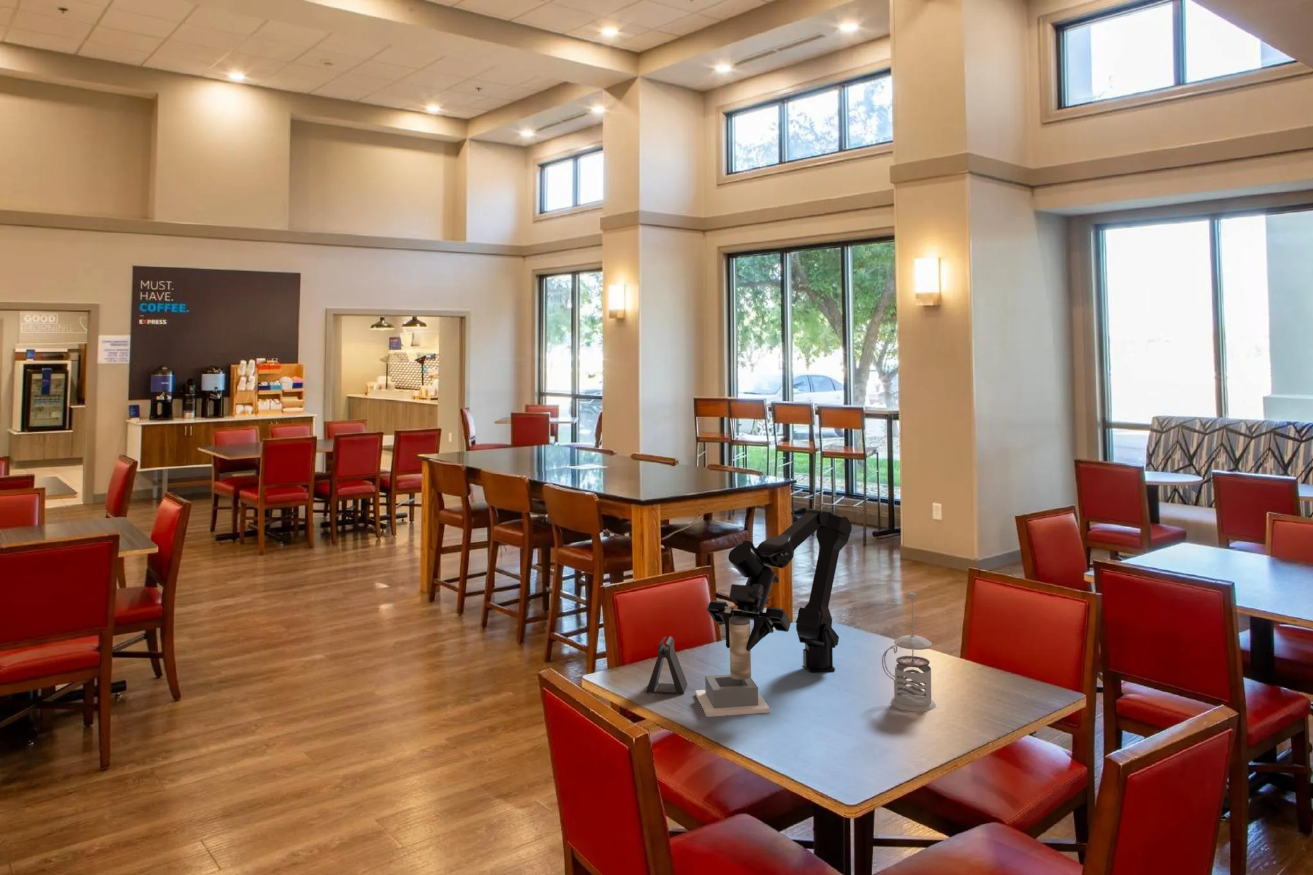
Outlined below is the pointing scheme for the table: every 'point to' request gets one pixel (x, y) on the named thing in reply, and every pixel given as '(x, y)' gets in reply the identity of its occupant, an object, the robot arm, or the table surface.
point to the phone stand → (675, 671)
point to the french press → (911, 674)
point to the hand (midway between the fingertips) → (737, 648)
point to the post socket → (730, 697)
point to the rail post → (739, 648)
